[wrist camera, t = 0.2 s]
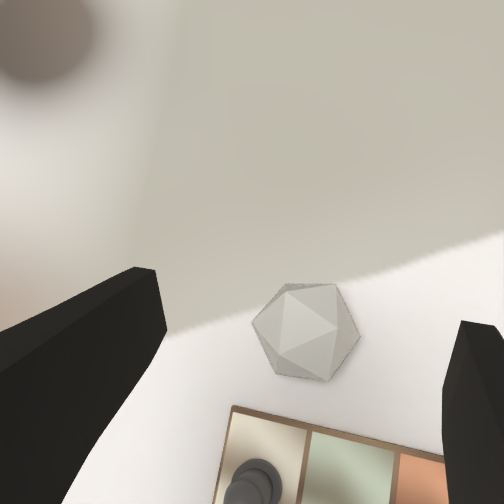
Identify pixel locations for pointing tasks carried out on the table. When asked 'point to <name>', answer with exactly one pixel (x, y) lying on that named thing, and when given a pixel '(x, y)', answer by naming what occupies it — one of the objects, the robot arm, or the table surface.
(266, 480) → the pawn
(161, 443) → the table surface
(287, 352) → the die
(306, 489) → the game track
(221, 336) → the table surface
